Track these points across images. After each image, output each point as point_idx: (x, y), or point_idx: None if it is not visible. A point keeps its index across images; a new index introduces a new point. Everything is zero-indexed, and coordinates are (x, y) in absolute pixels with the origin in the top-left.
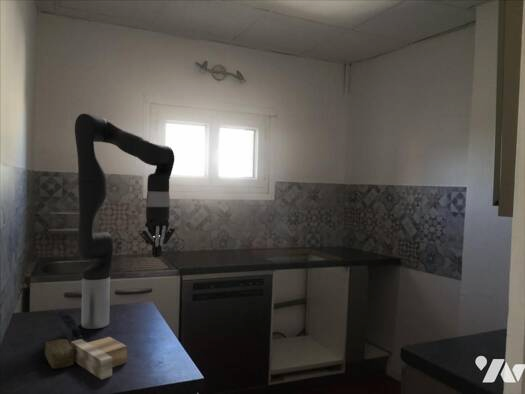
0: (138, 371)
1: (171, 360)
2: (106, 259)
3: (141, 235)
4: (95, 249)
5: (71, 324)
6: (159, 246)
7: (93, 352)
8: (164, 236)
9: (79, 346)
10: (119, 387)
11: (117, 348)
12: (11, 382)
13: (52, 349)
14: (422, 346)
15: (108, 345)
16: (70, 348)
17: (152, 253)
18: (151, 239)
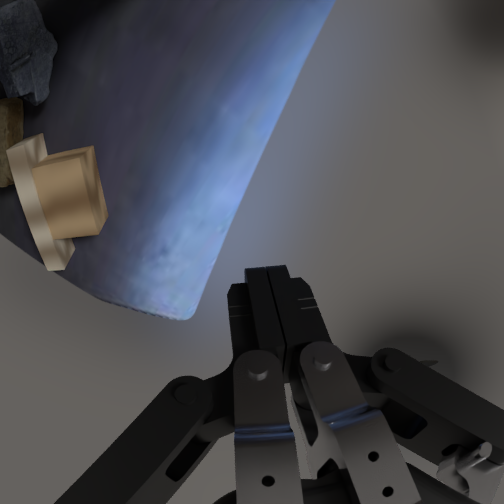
0: (116, 259)
1: (185, 256)
2: None
3: (78, 487)
4: None
5: (6, 82)
6: (288, 381)
7: (36, 232)
8: (428, 412)
9: (17, 187)
10: (80, 283)
11: (79, 235)
12: None
13: None
14: (425, 364)
15: (66, 210)
16: (6, 175)
17: (228, 304)
18: (190, 468)
